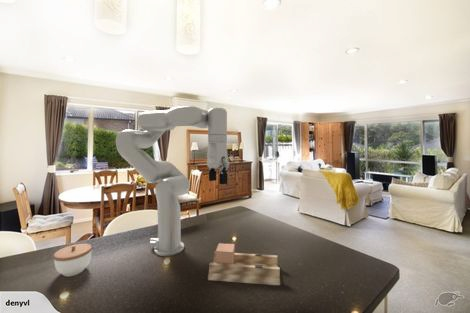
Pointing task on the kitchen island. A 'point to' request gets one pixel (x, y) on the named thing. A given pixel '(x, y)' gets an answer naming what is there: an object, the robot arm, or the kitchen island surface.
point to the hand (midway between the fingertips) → (217, 182)
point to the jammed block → (225, 253)
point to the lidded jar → (72, 259)
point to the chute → (247, 269)
